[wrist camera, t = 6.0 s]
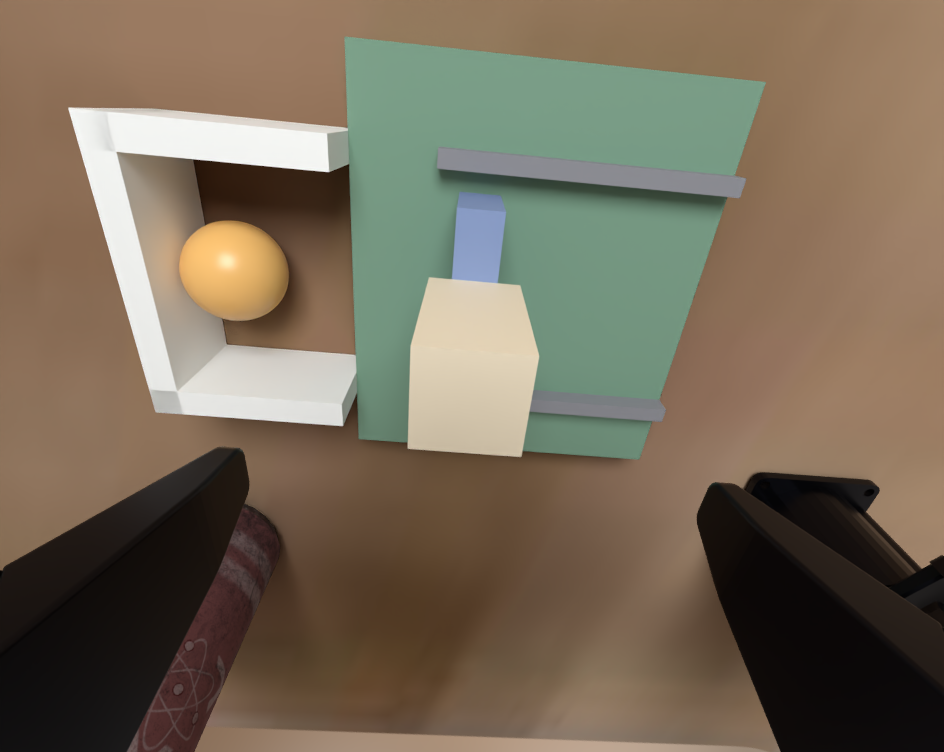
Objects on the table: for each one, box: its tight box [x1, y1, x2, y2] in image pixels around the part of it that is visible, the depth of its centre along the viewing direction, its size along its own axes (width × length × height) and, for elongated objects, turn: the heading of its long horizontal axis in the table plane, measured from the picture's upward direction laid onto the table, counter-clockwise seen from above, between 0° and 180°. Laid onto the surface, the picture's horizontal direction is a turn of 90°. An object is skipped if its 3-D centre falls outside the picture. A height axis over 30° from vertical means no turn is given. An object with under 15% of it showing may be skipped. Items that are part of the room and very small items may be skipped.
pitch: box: [345, 37, 766, 459], centre depth 18 cm, size 13×15×2 cm
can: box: [127, 504, 280, 752], centre depth 20 cm, size 6×6×14 cm
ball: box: [179, 220, 289, 321], centre depth 17 cm, size 4×4×4 cm
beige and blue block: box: [408, 192, 539, 457], centre depth 14 cm, size 3×7×8 cm, turn 175°
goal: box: [69, 108, 357, 426], centre depth 17 cm, size 7×10×4 cm
